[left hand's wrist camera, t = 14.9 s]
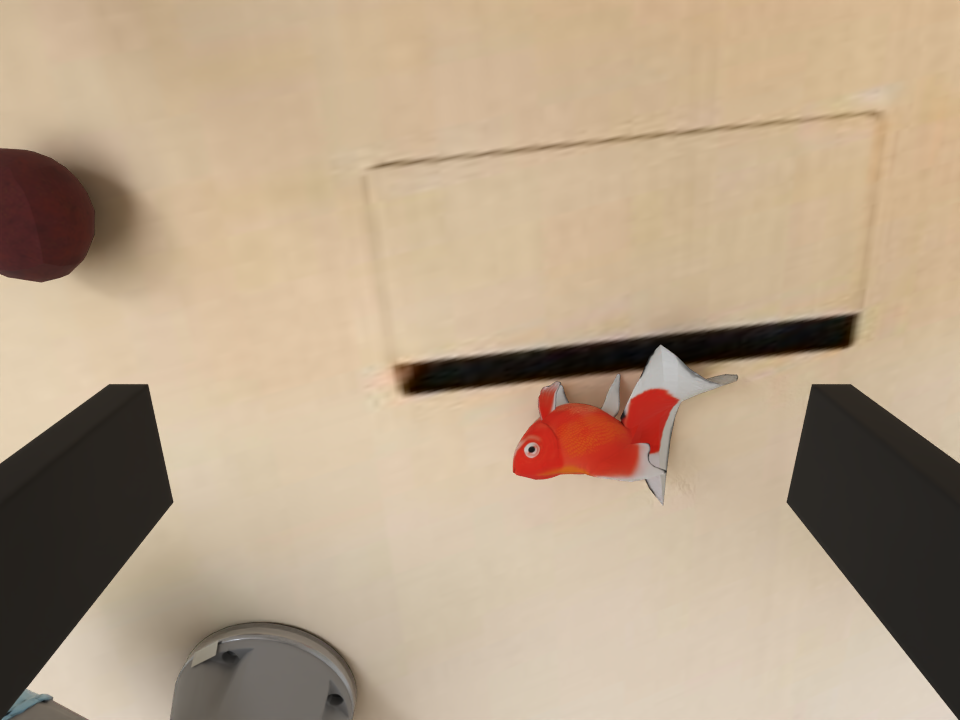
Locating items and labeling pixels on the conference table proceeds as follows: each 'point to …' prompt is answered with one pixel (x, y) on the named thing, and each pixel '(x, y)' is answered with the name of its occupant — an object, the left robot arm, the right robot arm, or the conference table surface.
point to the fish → (613, 427)
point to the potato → (41, 217)
